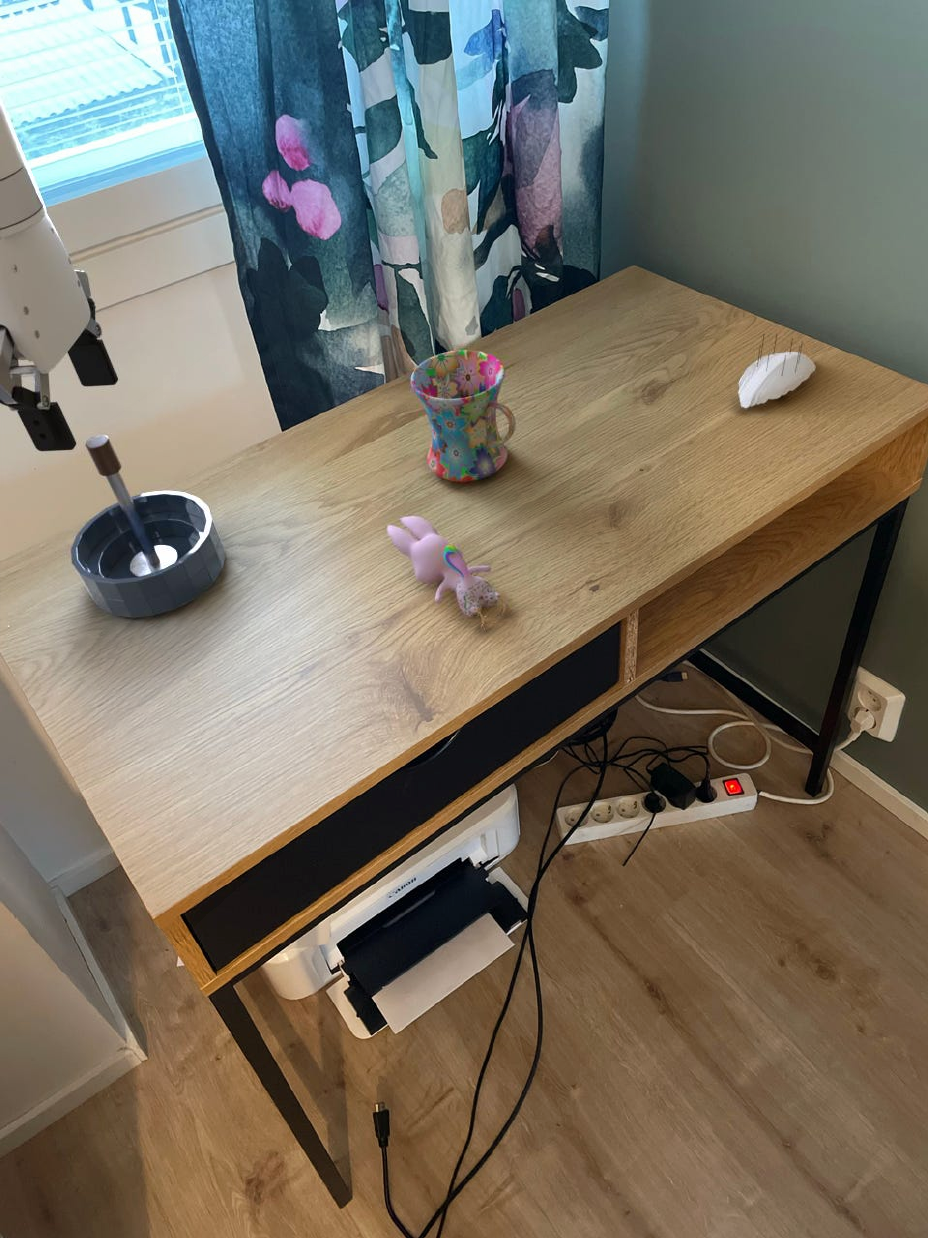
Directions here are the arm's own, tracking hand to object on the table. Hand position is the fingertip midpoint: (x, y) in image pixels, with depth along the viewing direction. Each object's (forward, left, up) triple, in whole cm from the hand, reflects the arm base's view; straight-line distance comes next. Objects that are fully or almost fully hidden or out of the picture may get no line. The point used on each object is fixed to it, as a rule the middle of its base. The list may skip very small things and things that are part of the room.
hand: (80, 414), depth 74 cm
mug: (+28, -19, -19) cm, 39 cm away
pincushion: (+55, -41, -19) cm, 71 cm away
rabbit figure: (+12, -26, -19) cm, 34 cm away
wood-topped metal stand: (0, 0, -18) cm, 18 cm away
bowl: (0, 0, -18) cm, 18 cm away
